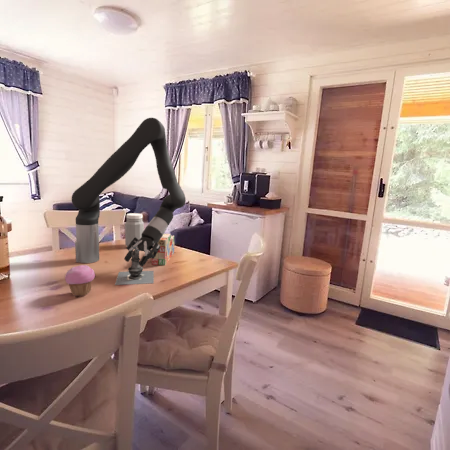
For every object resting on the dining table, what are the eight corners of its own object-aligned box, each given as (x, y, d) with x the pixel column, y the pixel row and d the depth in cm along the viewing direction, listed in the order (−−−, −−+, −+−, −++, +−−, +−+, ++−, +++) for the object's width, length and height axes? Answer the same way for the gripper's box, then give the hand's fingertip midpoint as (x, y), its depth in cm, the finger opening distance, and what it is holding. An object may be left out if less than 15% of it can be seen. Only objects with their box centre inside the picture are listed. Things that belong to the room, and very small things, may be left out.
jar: (122, 247, 156) (121, 214, 153) (130, 243, 166) (130, 212, 163) (138, 249, 155) (138, 216, 152) (146, 245, 164) (146, 213, 161)
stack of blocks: (162, 252, 153) (162, 229, 150) (174, 252, 153) (174, 230, 150) (151, 264, 132) (151, 238, 129) (165, 265, 132) (165, 239, 129)
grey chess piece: (146, 275, 117) (146, 247, 115) (137, 280, 112) (137, 250, 110) (133, 273, 119) (133, 245, 117) (124, 278, 114) (124, 248, 111)
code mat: (114, 285, 107) (114, 284, 107) (118, 272, 120) (118, 271, 120) (153, 283, 111) (153, 283, 110) (153, 271, 124) (153, 270, 124)
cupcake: (98, 288, 103) (97, 262, 101) (91, 299, 95) (90, 270, 93) (71, 289, 101) (69, 262, 100) (61, 300, 93) (60, 270, 91)
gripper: (138, 222, 122) (115, 254, 114) (162, 227, 114) (140, 261, 107) (148, 232, 127) (126, 264, 120) (172, 238, 120) (150, 271, 112)
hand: (133, 263), depth 113 cm, fingers open, 8 cm apart
